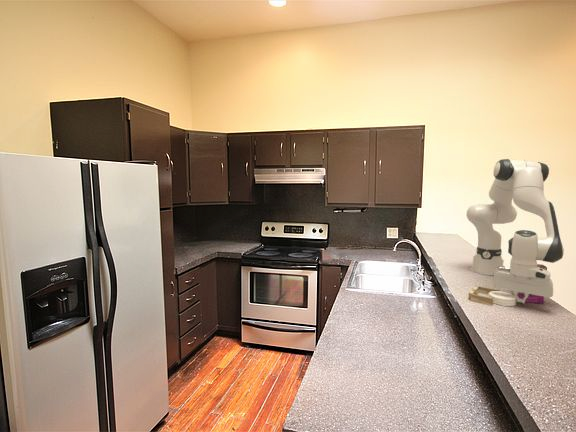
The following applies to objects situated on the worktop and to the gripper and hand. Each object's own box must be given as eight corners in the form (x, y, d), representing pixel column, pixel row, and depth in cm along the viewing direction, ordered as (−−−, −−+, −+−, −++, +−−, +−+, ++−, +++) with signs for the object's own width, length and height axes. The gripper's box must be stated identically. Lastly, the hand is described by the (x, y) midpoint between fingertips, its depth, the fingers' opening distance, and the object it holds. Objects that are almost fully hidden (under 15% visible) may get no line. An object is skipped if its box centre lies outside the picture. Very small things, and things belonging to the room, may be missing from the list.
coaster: (509, 299, 141) (509, 291, 140) (520, 307, 131) (521, 299, 131) (484, 297, 143) (484, 290, 142) (494, 305, 133) (494, 297, 133)
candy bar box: (513, 301, 138) (516, 264, 136) (509, 297, 143) (512, 261, 141) (544, 304, 134) (547, 266, 133) (539, 300, 139) (542, 263, 137)
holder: (476, 291, 150) (476, 285, 150) (499, 296, 144) (499, 290, 144) (467, 300, 139) (468, 293, 139) (492, 305, 133) (492, 299, 133)
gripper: (492, 267, 136) (490, 298, 137) (554, 276, 122) (551, 311, 124) (494, 264, 140) (492, 294, 142) (555, 272, 127) (552, 306, 128)
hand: (520, 302), depth 133 cm, fingers closed
